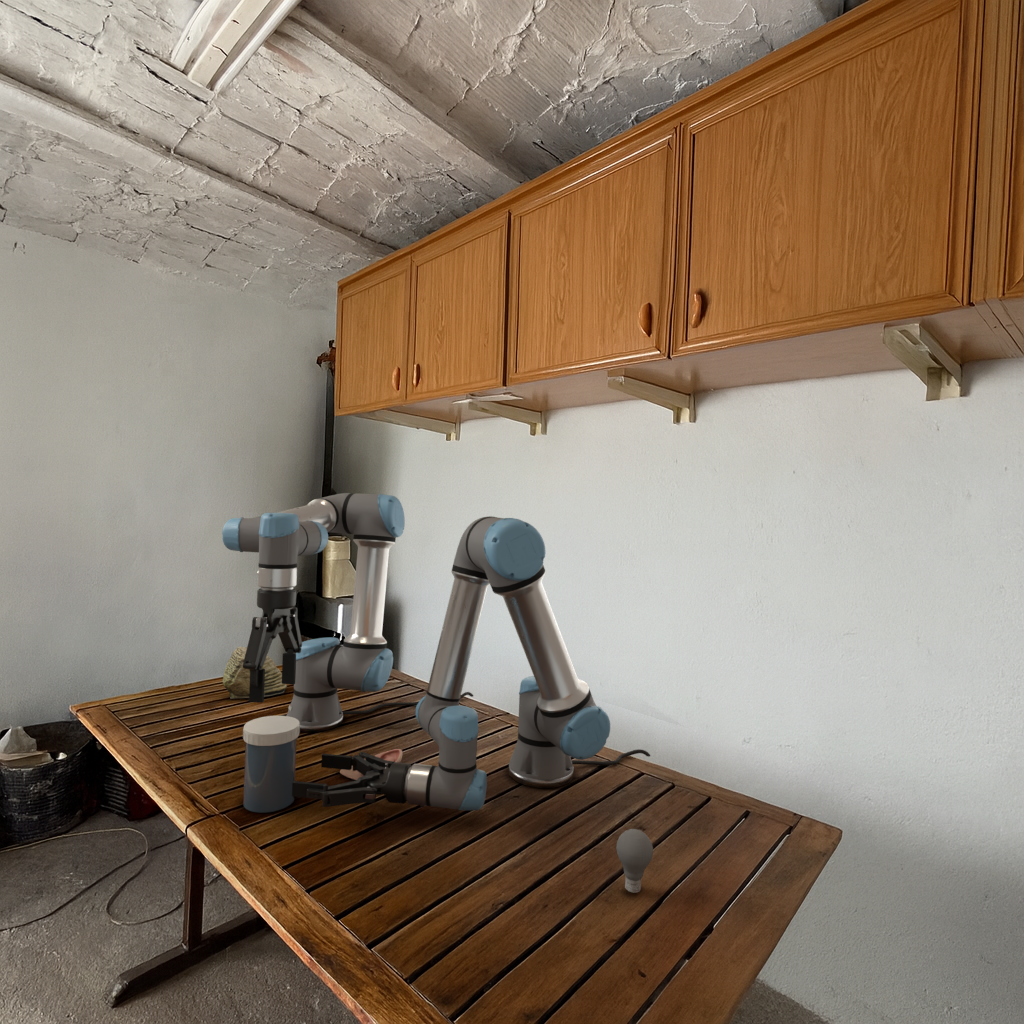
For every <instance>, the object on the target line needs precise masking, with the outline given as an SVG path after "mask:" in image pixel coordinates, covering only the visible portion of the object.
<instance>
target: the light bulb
mask: <svg viewBox="0 0 1024 1024" xmlns="http://www.w3.org/2000/svg"><path fill="white" fill-rule="evenodd" d="M615 849H616V854H617V857H618V859H619V861H620V863H621V865H622V867H623V873H624V874H623V875H624V876H625V878H624V888H625V890H627V891H628V892H630V893H634V894H635V893H639V892H640V891H641V889H642V887H641V886H642V879H643V877H644V875H645V871H646V868H647V867H648V866H649V864H650V863H651V861H652V859H653V855H654V847H653V843H652V841H651V838H649V836H648V835H647V834H646V833H645V832H643V831H642V830H641V829H636V828H629V829H627V830H625V831H623V832H622V833H621V834H620V835H619V837H618V839H617V841H616V847H615Z"/></svg>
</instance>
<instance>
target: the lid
mask: <svg viewBox="0 0 1024 1024" xmlns="http://www.w3.org/2000/svg"><path fill="white" fill-rule="evenodd" d="M300 733H301V731H300V723H299V720H297V719H296V718H293V717H289V716H286V715H267V716H262V717H261V716H260V717H258V718H254V719H251V720H248V721H247V722H245V724H244V725H243V729H242V738H243V741H244V742H245V743H248V744H251V745H257V746H273V745H279V744H284V743H287V742H290V741H292V740H294V739H296V738H297V739H298V737H299V735H300Z"/></svg>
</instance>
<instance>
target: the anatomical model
mask: <svg viewBox="0 0 1024 1024" xmlns="http://www.w3.org/2000/svg"><path fill="white" fill-rule="evenodd" d="M403 754H404V753H403V750H402V749H401V748H395V749H390V750H387V751H382V752H380V753H377V754H375V755H374V756H376V757H378V758H381V759H384V760H387V761H394V762H399V763H401V761H402V759H403ZM339 773H340V774H341V775H342V776H344V777H346V778H348V779H351V780H353V781H356V780H357V779H358V778H359V777H363V776H364V775H363V774H361V773H360V772H358V771H357V770H356V771H354V770H353V766H352V769H351V770H344V769H339Z"/></svg>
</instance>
